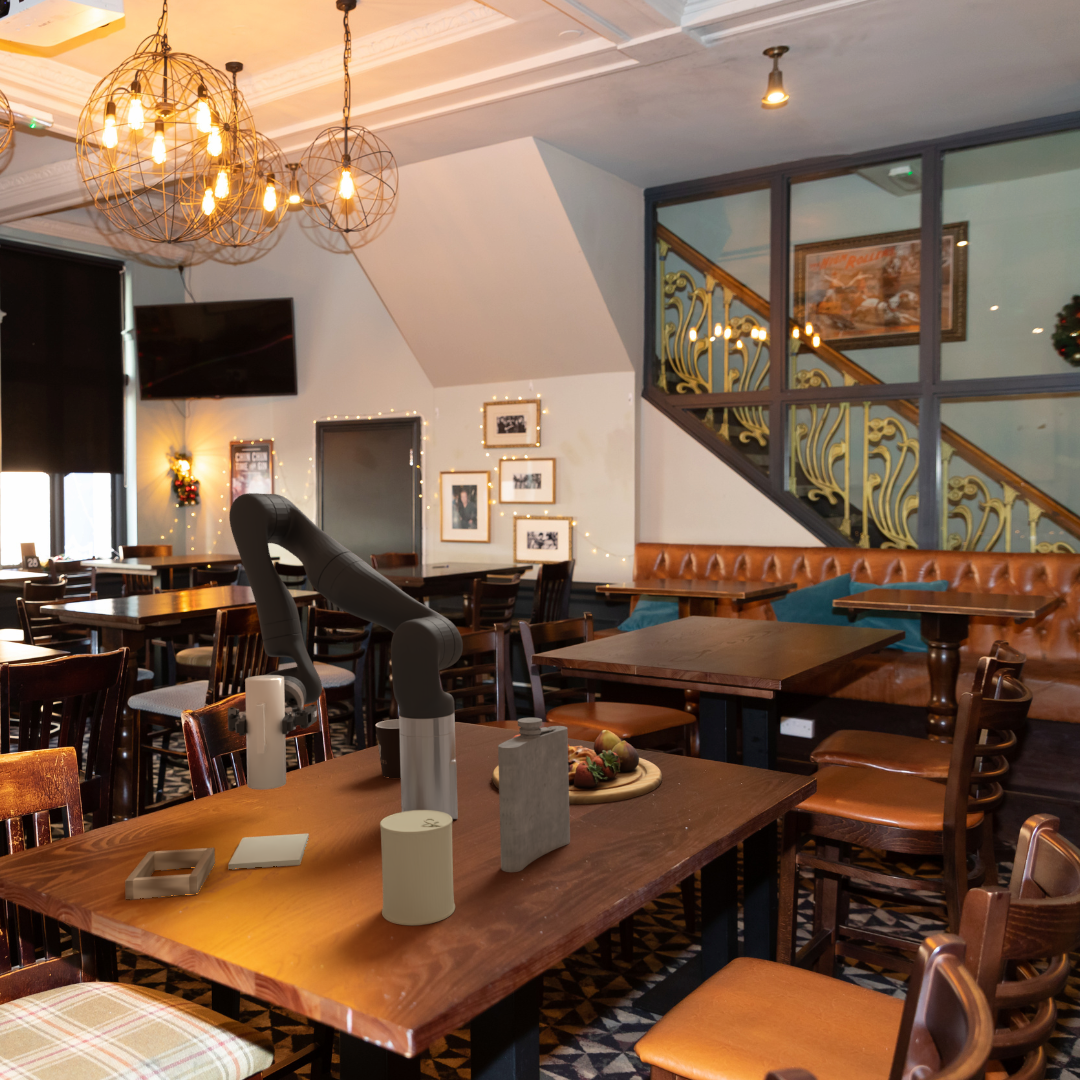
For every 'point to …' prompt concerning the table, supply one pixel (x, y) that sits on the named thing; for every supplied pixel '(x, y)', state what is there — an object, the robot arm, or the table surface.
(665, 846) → the table surface
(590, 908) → the table surface
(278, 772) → the cream jug
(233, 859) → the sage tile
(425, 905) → the can
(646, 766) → the wooden plate with food
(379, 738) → the coffee mug
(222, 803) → the table surface
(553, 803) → the hip flask
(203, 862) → the collar
